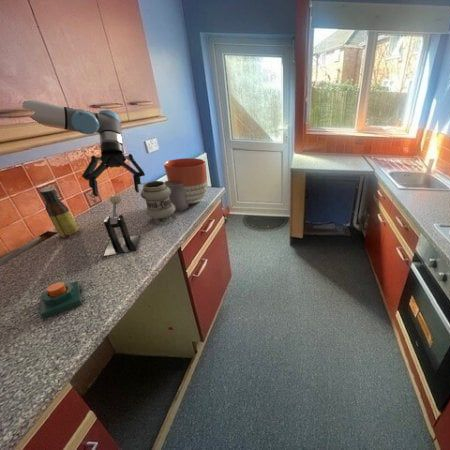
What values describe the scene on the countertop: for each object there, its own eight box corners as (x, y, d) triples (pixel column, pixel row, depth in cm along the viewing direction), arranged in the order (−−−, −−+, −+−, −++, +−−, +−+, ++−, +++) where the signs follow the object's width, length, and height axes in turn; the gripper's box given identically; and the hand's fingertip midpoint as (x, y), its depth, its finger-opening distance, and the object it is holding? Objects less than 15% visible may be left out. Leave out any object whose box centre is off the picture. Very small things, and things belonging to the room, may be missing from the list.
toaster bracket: (111, 242, 98) (100, 213, 92) (140, 238, 102) (131, 209, 96) (104, 259, 88) (91, 228, 82) (137, 253, 92) (127, 223, 86)
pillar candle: (172, 204, 132) (166, 177, 125) (191, 204, 133) (186, 176, 126) (166, 212, 123) (159, 183, 116) (186, 211, 125) (181, 183, 118)
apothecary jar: (142, 224, 112) (131, 186, 103) (162, 213, 122) (153, 178, 113) (165, 228, 109) (155, 190, 100) (183, 217, 119) (175, 181, 111)
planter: (195, 211, 125) (188, 169, 115) (163, 205, 130) (154, 164, 120) (217, 198, 142) (213, 160, 132) (188, 193, 146) (182, 156, 136)
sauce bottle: (83, 231, 105) (63, 186, 95) (76, 238, 100) (55, 191, 90) (64, 232, 103) (42, 187, 93) (56, 240, 98) (32, 193, 88)
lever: (111, 199, 97) (108, 193, 94) (122, 198, 98) (119, 192, 95) (110, 229, 90) (106, 223, 87) (122, 227, 91) (119, 222, 88)
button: (49, 291, 69) (46, 285, 68) (66, 286, 71) (63, 280, 70) (49, 299, 67) (46, 293, 66) (67, 293, 69) (63, 287, 68)
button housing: (44, 298, 72) (38, 287, 70) (80, 286, 76) (75, 276, 74) (44, 320, 65) (37, 309, 63) (82, 305, 70) (77, 294, 68)
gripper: (148, 150, 110) (155, 193, 105) (78, 153, 100) (81, 200, 96) (144, 139, 103) (151, 185, 98) (69, 141, 94) (71, 192, 89)
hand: (116, 193), depth 97 cm, fingers open, 13 cm apart
